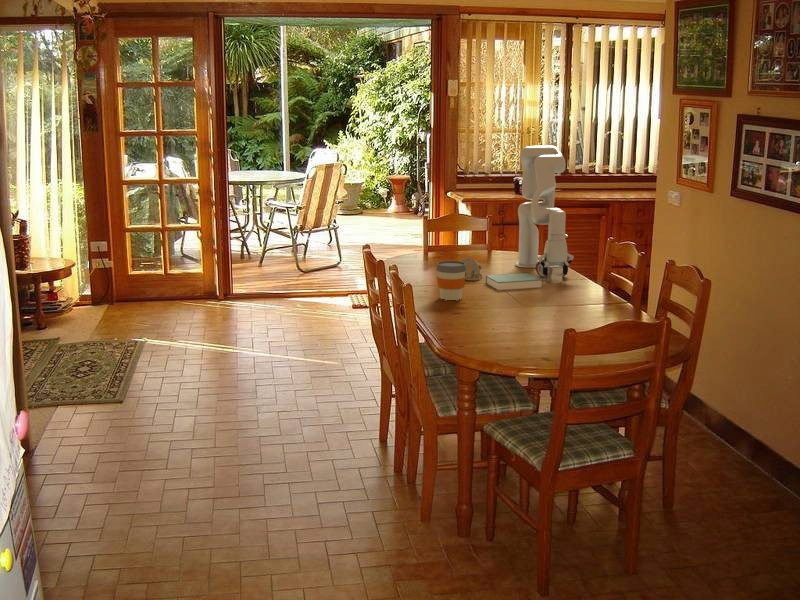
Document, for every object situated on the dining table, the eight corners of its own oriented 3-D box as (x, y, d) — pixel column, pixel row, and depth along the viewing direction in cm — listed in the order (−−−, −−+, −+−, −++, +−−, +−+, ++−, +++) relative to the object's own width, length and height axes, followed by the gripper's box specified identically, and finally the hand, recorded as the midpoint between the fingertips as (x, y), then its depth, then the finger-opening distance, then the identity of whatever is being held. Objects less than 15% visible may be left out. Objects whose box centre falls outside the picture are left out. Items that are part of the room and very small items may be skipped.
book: (485, 284, 424) (485, 275, 423) (528, 281, 429) (528, 272, 428) (497, 291, 409) (498, 282, 409) (541, 288, 415) (542, 279, 414)
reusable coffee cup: (431, 296, 399) (431, 261, 395) (458, 293, 403) (458, 259, 399) (443, 302, 387) (443, 267, 384) (470, 300, 391) (471, 265, 388)
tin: (567, 276, 437) (568, 259, 435) (568, 278, 434) (568, 260, 432) (535, 276, 439) (535, 258, 437) (535, 277, 436) (536, 259, 434)
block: (547, 281, 428) (547, 266, 426) (557, 280, 429) (558, 265, 428) (551, 283, 423) (552, 268, 422) (562, 282, 425) (562, 267, 423)
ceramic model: (487, 277, 436) (487, 256, 434) (475, 281, 427) (476, 260, 425) (460, 274, 444) (460, 253, 441) (449, 278, 434) (449, 257, 432)
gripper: (570, 235, 427) (569, 272, 431) (535, 237, 423) (534, 274, 427) (577, 238, 420) (576, 275, 424) (542, 239, 416) (541, 277, 420)
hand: (555, 274), depth 425 cm, fingers open, 9 cm apart
